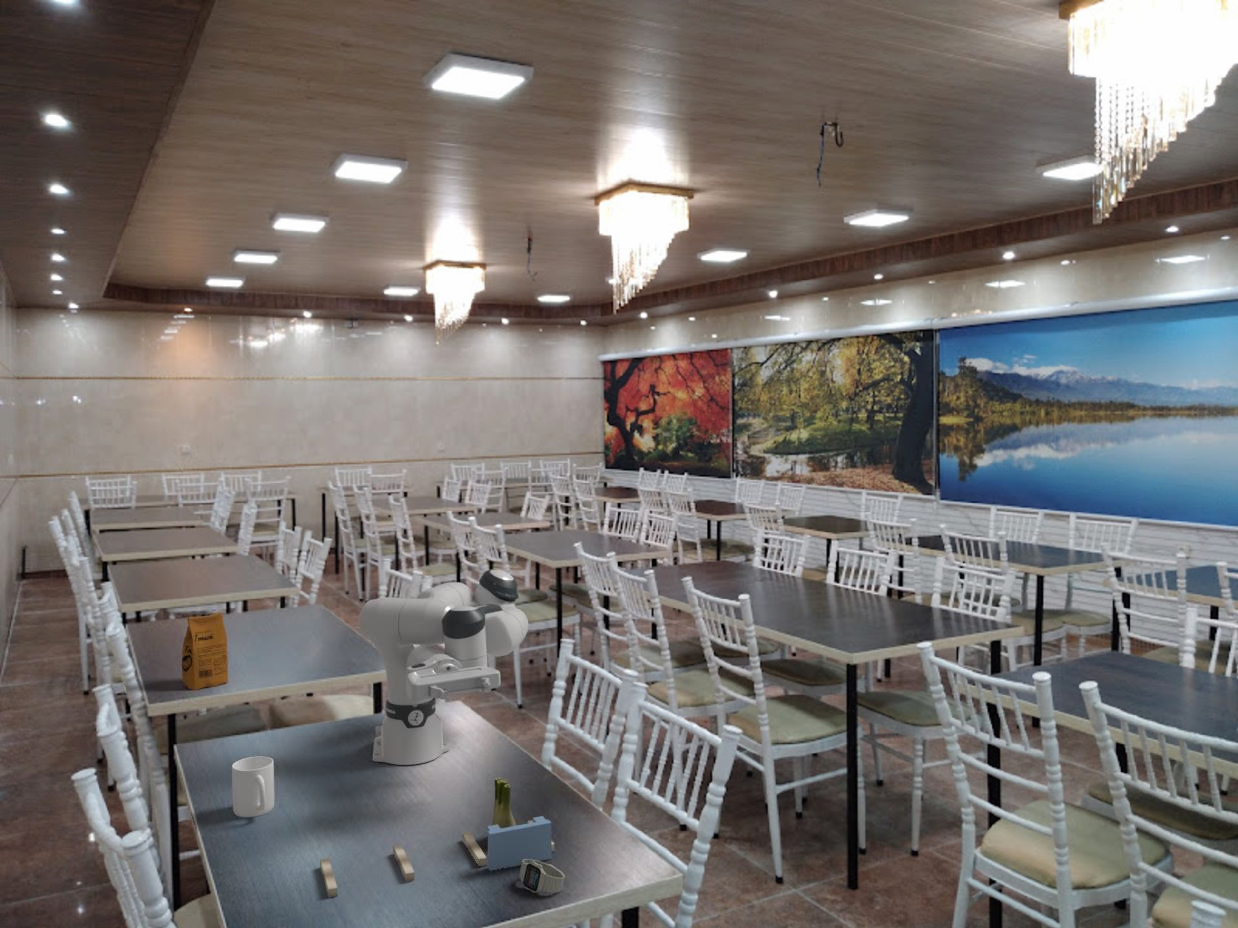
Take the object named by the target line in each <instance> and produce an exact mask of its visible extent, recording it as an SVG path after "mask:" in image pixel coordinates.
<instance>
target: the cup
mask: <svg viewBox="0 0 1238 928" xmlns="http://www.w3.org/2000/svg"><path fill="white" fill-rule="evenodd" d="M274 763H275V762H274V759H273V758H271V757H269V756H261V755H260V756H250V757H245V758H242V759H239V760H237V761H235V762H233V764H232V765H231V780H232V781H231V782H232V784H231V786H232V788H231V789H232V810H233V813H234V815H236V816H237V817H241V818H256V817H261V816H263V815H266V814H268V813H269V812H271V811H272V810H273V808H275V774H274V773H275V769H274V767H275V766H274Z"/></svg>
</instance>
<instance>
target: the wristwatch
mask: <svg viewBox="0 0 1238 928" xmlns="http://www.w3.org/2000/svg"><path fill="white" fill-rule="evenodd" d="M518 877H519V878H520V881H521V882H522V883H523V887H524V889H526V890H529V892H531V893H534V894H536V893H538V892H544V893H549V894H556V893H557V894H558V893H560V892H562V890H563V887H564V882H565V878H566V875H565V874H564V872H562V871H561V870H560V869H558V868H557V867H556V866H554V865H553V864H550V863H546V862H543V861H537V860H532V859H524V860H522V865H520V870H519V874H518Z"/></svg>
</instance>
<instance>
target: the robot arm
mask: <svg viewBox="0 0 1238 928" xmlns="http://www.w3.org/2000/svg"><path fill="white" fill-rule="evenodd" d="M478 582H479V583H478V585H477V587H476V588H475V590H474V593H473V592H472V590H471V588H470V587H469V586H468V585H467V584H465V583H463V582H457V581H451V582H445V583H441V584H438V585H435V586H433V587H431V588H428V589H426V590H423V591H421V592H420V593H419V594H418V595H417V597H416V598H412V597H411V598H408V597H407V598H406V597H392V596H391V597H390V596H388V597H386V596H385V597H381V598H375V599H370V600H368V601H367V602H365V604H364V605H363V607H362V608H361V609H360V612H359V615H358V625H359V630H360V631H361V634H363V636H364V637H365V638H366V639H368V640H369V641H370V642H371V643H372V644H373V646H374V648H376V650H377V652H378V653H379V655H380V657H381V659H382V662H383V666H384V668H385V669H384V670H385V673H386V674H385V676H386V686H387V687H386V689H387V699H386V700H385V707H384V708H385V716H384V718H383V720H382V725H381V726H379V725H377V726H375V727H374V728H375V736H376V737H375V738H374V739H373V748H372V749H373V750H372V761H373V762H376V763H379V762H380V763H386V764H391V765H400V766H403V765H404V766H410V765H417V764H418V765H419V764H424V763H427V762H430V761H434V760H435V759H437V758H439V757H440V756H441V755H442V754H444V753H446V752H448V751H450V745H449V744H448V743H446V742H444V738H443V736H444V735H443V734H444V733H443V724H442V723H443V721H442V720H443V719H442V718H441V717H440V716H439V715H437V714H436V711H437V710H436V706H437V703H436V702H437V701H436V699H441V700H446V699H447V700H448V699H450V697H453V696H455V695H460V694H467V693H472V692H480V691H481V692H482V693H489V692H492V691H491V690H492V689H493V690H494V689H497V688H499V687H500V686H501V672H500V670H497V669H495V668H493V667H491V666H488V655H489V656H492V657H503V656H507V655H509V654H511V653H512V652H513V651H516V649H517V648H518V647H519V646H520V645H521V644H522V642H523V641H524V640H525V638H526V636H527V633H528V631H529V624H530V623H529V620H528V617H527V615H526V613H525V612H524V611H523V610H521V609H519V608H517V607H516V606H515V603H516V601H517V599H519V593H518V582H517V580H516V578H515V577H514V576H513V575H512V574H510V573H509V572H507V571H505V570H502V569H497V568H490V569H488V570H485V571H484V572H483V574H482V575H481V577H480V579H479V581H478ZM414 645H417V646H416V647H415V646H414ZM438 645H444V652H443V651H441V650H440V649H437V648H435V647H432V646H438Z"/></svg>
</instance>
